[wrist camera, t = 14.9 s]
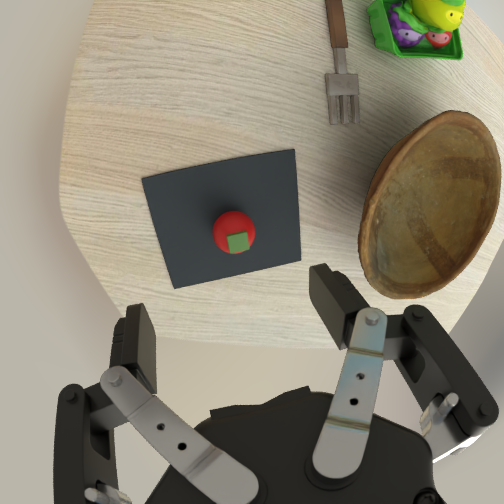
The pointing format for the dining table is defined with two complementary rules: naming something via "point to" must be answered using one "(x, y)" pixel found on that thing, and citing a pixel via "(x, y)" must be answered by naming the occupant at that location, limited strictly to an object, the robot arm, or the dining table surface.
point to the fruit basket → (418, 27)
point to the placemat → (219, 202)
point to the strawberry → (233, 232)
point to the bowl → (430, 206)
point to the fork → (340, 68)
